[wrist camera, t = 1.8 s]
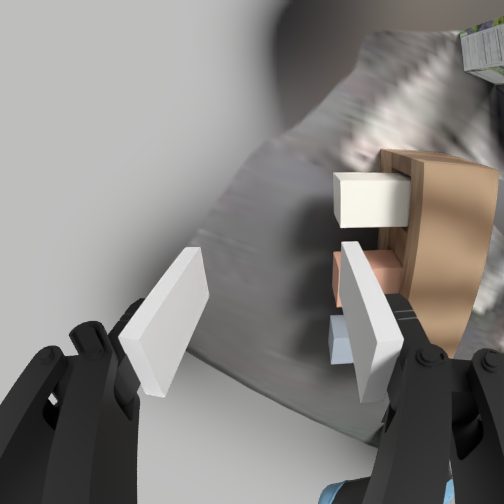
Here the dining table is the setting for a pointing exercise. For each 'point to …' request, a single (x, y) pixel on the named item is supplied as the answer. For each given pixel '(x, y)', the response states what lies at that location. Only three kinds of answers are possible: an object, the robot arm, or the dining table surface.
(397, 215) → the cream button
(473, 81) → the dining table surface
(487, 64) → the syrup box
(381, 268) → the salmon pink block
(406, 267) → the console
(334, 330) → the slate button
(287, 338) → the dining table surface
